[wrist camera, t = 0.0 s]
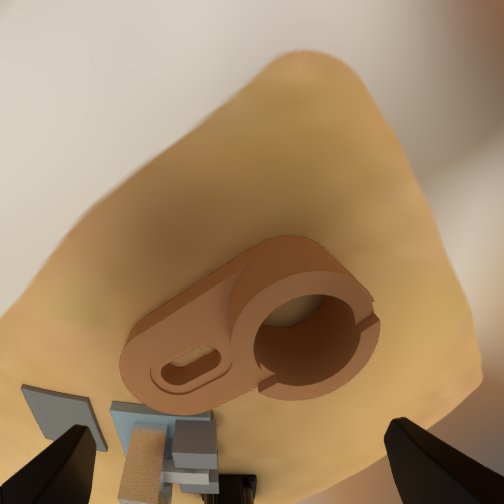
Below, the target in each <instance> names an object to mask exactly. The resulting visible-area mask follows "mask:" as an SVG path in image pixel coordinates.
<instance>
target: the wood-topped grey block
mask: <svg viewBox="0 0 504 504" xmlns="http://www.w3.org/2000/svg"><path fill="white" fill-rule="evenodd" d="M168 441H169V429H168V424H162V423H150V422H140V421H135V423H134V427H133V431H132V435H131V439H130V443H129V447H128V452H127V456H126V460H125V465H124V469H123V474H122V478H121V483H120V488H119V492H118V497H117V499H118V500H119V502H120V504H171V498H172V486H173V483H166V482H164V473H165V465H166V459H167V460H173V455H172V452H171V451H167V448H168Z"/></svg>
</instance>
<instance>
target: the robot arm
mask: <svg viewBox="0 0 504 504" xmlns="http://www.w3.org/2000/svg"><path fill="white" fill-rule="evenodd" d="M384 443H385V447H386V451H387V455H388V458H389V462H390V466H391V470H392V474H393V478H394V481H395V484H396V486H397V489H398V492H399V494H400V496H401V499H402V502H403V504H504V476H502V475H500V474H498V473H496V472H494V471H492V470H491V469H489V468H487V467H484V466H483V465H482V464H480V463H478V462H477V461H475V460H473V459H472V458H470V457H468V456H467V455H465V454H463V453H462V452H460V451H458V450H457V449H455V448H453V447H452V446H450V445H448V444H447V443H445V442H444V441H442V440H440V439H439V438H437V437H436V436H434V435H432V434H430V433H429V432H428V431H426V430H425V429H423V428H421V427H420V426H418V425H417V424H415V423H414V422H412V421H410V420H409V419H407V418H406V417H400V418H395V419H393V420H392V421H391V422H390V424H389V427H388V429H387V431H386V433H385V435H384ZM96 449H97V447H96V442H95V439H94V437H93V435H92V433H91V430H90V428H89V427H88V426H86V425H81V424H75V425H73V426H72V427H71V428H69V429H68V430H67V431H66V432H65V433H63V434H62V435H61V436H60V437H59V438H58V439H56V440H55V441H54V442H53V443H52V444H50V445H49V446H48V447H47V448H46V449H44V450H43V451H42V452H41V453H40V454H38V455H37V456H36V457H35V458H34V459H32V460H31V461H30V462H29V463H28V464H26V465H25V466H24V467H23V468H21V469H20V470H19V471H18V472H17V473H15V474H14V475H13V476H12V477H11V478H9V479H8V480H7V481H6V482H4V483H3V484H2V487H1V486H0V504H88V503H89V499H90V494H91V489H92V481H93V472H94V464H95V456H96ZM218 478H219V494H203V493H201V495H202V500H203V501H204V504H254V498H255V491H256V483H257V477H256V476H255V475H247V476H218Z"/></svg>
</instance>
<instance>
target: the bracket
mask: <svg viewBox="0 0 504 504" xmlns="http://www.w3.org/2000/svg"><path fill="white" fill-rule="evenodd" d="M312 294H323V295H325V296H324V299H323V302H322V304H321V306H320V307H319V309H318V310H317V311H316V313H315V314H314V315H313V316H312V317H310V318H309V319H308V320H306V321H305V322H303V323H301V324H299V325H296V326H293V327H288V328H275V327H270V326H267V325H265V324H263V323H262V322H263V321H264V320H265V319H266V317H267V316H268V315H269V314H270V313H271V312H272V311H274V310H275V309H276V308H278V307H279V306H280V305H282V304H284V303H286V302H288V301H290V300H292V299H295V298H297V297H301V296H305V295H312ZM373 301H374V299H373V297H372V295H371V294H370V293H369V292H368V290H367V289H366V288H365V287H364V286H363V285H362V284H361V283H360V282H359V281H358V280H357V279H356V278H355V277H354V276H353V275H352V274H351V273H350V272H349V271H348V270H347V269H346V268H345V267H344V266H343V265H342V264H341V263H340V262H338V261H337V260H336V259H335V258H334V257H333V256H332V255H331V254H330V253H329V252H328V251H327V250H326V249H325V248H324V247H323V246H321V245H320V244H318V243H316V242H315V241H313V240H310V239H307V238H304V237H299V236H279V237H274V238H271V239H268V240H265V241H263V242H261V243H259V244H257V245H255V246H254V247H252V248H251V249H249V250H248V251H246V252H244V253H243V254H241V255H240V256H238V257H237V258H235V259H234V260H232V261H231V262H229V263H228V264H226V265H224V266H223V267H221V268H220V269H218V270H217V271H215V272H214V273H212V274H211V275H209V276H208V277H206V278H205V279H203V280H201V281H200V282H198V283H197V284H195V285H194V286H192V287H191V288H189V289H188V290H186V291H185V292H183V293H182V294H180V295H178V296H177V297H175V298H174V299H172V300H171V301H169V302H168V303H166V304H165V305H163V306H162V307H160V308H159V309H157V310H156V311H154V312H152V313H151V314H149V315H148V316H146V317H145V318H143V319H142V320H141V321H139V322H138V323H137V324H136V325H135V327H134V328H133V330H132V331H131V333H130V335H129V338H128V340H127V342H126V344H125V347H124V349H123V351H122V354H121V357H120V363H119V368H120V374H121V377H122V380H123V382H124V384H125V386H126V387H127V389H128V390H129V391H130V392H131V393H132V395H133V396H134V397H136V398H137V399H138V400H139V401H140V402H142V403H143V404H145V405H147V406H148V407H150V408H152V409H155V410H157V411H160V412H163V413H167V414H172V415H195V414H200V413H203V412H206V411H209V410H211V409H213V408H215V407H217V406H219V405H222V404H224V403H226V402H228V401H230V400H232V399H234V398H236V397H238V396H240V395H242V394H244V393H246V392H248V391H250V390H252V389H254V388H255V387H257V386H258V391H259V393H260V394H263V395H265V396H268V397H271V398H275V399H279V400H291V401H295V400H306V399H311V398H316V397H319V396H322V395H325V394H327V393H330V392H332V391H334V390H336V389H338V388H339V387H341V386H343V385H344V384H346V383H347V382H349V381H350V380H351V379H352V378H353V377H355V376H356V375H357V374H358V373H359V372H360V371H361V369H362V368H363V367H364V366H365V365H366V363H367V362H368V361H369V359H370V357H371V356H372V354H373V352H374V350H375V347H376V345H377V342H378V338H379V333H380V319H379V318H378V317H377V316H376V315H375V314H374V309H373V305H372V302H373ZM203 345H206V346H211V347H214V348H215V349H216V350H215V351H213V352H211V353H209V354H207V355H206V356H204V357H202V358H200V359H199V360H197V361H195V362H193V363H191V364H189V365H188V366H185V367H175V366H172V365H171V364H169V363H170V362H172V361H173V360H175V359H177V358H179V357H180V356H182V355H184V354H186V353H188V352H189V351H191V350H193V349H195V348H196V347H199V346H203Z"/></svg>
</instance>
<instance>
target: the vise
mask: <svg viewBox="0 0 504 504" xmlns="http://www.w3.org/2000/svg"><path fill="white" fill-rule="evenodd" d="M110 413H111V416H112V419H113V422H114V425H115V427H116V430H117V433H118V436H119V439H120V441H121V444H122V447H123V449H124V452H125V454H126V456H127V452H128V447H129V443H130V439H131V435H132V431H133V427H134V423H135V421H140V422H150V423H162V424H168V429H169V441H168V448H167V451H171V452H172V455H173V460H167V459H166V465H165V473H164V482H166V483H179V484H180V488H181V492H182V493H203V494H219V478H218V452H217V430H216V421H211V413H210V410H209V411H206V412H203V413H200V414H195V415H172V414H167V413H163V412H160V411H157V410H155V409H152V408H150V407H148V406H147V405H142V404H132V403H123V402H114V401H113V402H112V405H111V408H110Z"/></svg>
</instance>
